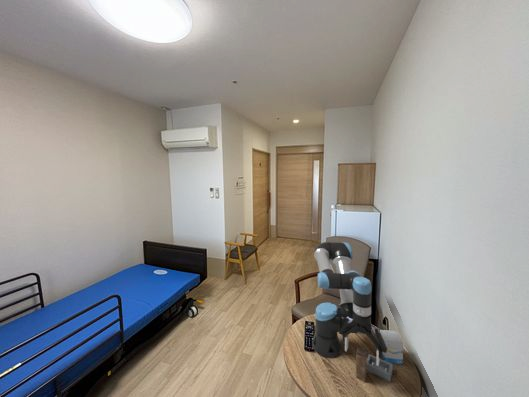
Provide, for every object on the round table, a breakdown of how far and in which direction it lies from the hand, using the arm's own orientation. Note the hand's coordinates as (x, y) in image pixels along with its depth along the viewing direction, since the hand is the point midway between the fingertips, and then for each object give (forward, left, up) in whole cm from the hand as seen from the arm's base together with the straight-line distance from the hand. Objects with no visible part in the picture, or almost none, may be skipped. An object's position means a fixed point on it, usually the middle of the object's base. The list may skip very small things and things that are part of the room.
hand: (361, 356), depth 98 cm
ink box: (+9, +22, -11) cm, 26 cm away
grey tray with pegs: (+6, +9, -11) cm, 15 cm away
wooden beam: (0, 0, -11) cm, 11 cm away
